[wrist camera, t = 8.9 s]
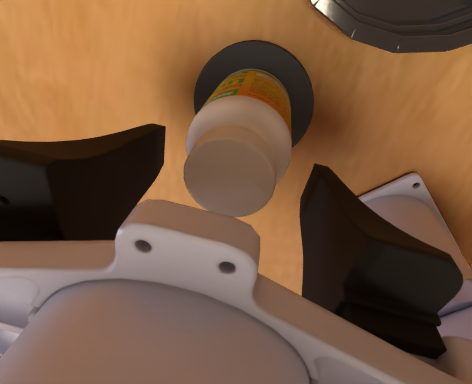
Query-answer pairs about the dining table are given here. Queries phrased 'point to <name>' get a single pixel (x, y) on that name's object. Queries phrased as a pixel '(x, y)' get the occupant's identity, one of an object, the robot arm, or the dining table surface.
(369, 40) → the pan
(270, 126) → the supplement bottle
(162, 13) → the dining table surface
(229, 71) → the coaster
